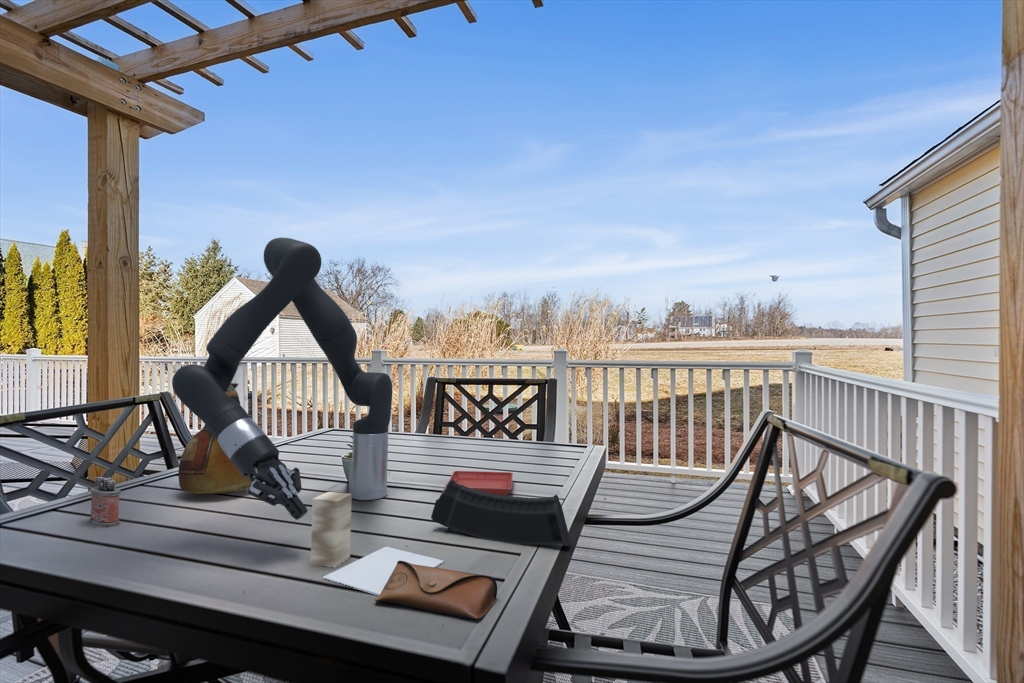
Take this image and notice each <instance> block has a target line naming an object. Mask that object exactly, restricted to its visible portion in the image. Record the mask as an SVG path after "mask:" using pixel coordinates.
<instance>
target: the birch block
mask: <svg viewBox="0 0 1024 683" xmlns="http://www.w3.org/2000/svg"><path fill="white" fill-rule="evenodd" d="M352 499H353V498H352V494H348V493H347V492H346V493H345V492H336V491H335V492H334V491H327V492H323V494H320V495H318V496H316V497H314V498H312V503H311V505H312V506H311V508H312V509H311V536H310V537H311V541H310V542H311V543H310V566H313V565H316V566H315V567H322V566H326V567H325V568H330V567H333V568H332V569H336V568H338V567H339V566H340V565H342V564H343V563H345V562H346V561H347V560H348V558H349V557H350V558H351V534H352V533H351V532H352V530H351V528H352ZM350 558H349V559H350ZM346 559H347V560H346ZM345 560H346V561H345ZM342 562H343V563H342ZM341 563H342V564H341ZM337 566H338V567H337Z"/></svg>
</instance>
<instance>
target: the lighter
mask: <svg viewBox="0 0 1024 683" xmlns="http://www.w3.org/2000/svg"><path fill="white" fill-rule="evenodd" d="M94 483H95V484H97V485H98V486H96V487H91V488H90V493H91V500H90V501H91V505H90V506H91V508H90V517H89V524H90V525H92V526H95V527H99V528H105V529H106V528H110V529H111V528H115V527H117V526H119V525H120V519H119V515H120V514H119V512H120V495H121V489H119V488H116V487H115V486H116V480H114V479H113V478H112V477H111V476H109V477H103V476H96V478H94Z"/></svg>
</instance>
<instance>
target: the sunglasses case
mask: <svg viewBox="0 0 1024 683" xmlns="http://www.w3.org/2000/svg"><path fill="white" fill-rule="evenodd" d="M497 595H498V583H497V580H496V579H495V578H494V577H492V576H490V575H486V574H473V573H467V572H463V571H456V570H452V569H447V568H441V567H436V568H435V567H429V566H422V565H415V564H411V563H408V562H405V561H398V562H397V565H396V567H395V569H394V570H393V572H392V574H391V576H390V577H389V579H388V581H387V583H386V585H385V586H384V588H383V590H382V592H381V594H380V595H379V596H378V595H377V597H375V598H374V601H375V602H378V603H379V602H380V603H381V602H382V603H390V604H396V605H401V606H405V607H409V608H410V607H411V608H415V609H419V610H420V609H421V610H425V611H428V612H433V613H437V614H440V615H446V616H451V617H452V616H453V617H458V618H465V619H473V620H474V619H475V620H480V619H482V618H483V617H484V616H486V615H487V613H488V612H489V611H490V610H491V609H492V607H493V605H495V603H496V600H497Z"/></svg>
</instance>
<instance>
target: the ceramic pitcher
mask: <svg viewBox="0 0 1024 683" xmlns="http://www.w3.org/2000/svg"><path fill="white" fill-rule="evenodd" d="M238 386H239V383H237V382H231V384H230V386H229V388H228V390H227V391H226V394H227V395H228V396H229V397H230V398H232V399H234V400H235V401H237V402H238V403H239V404H240V405H241V401H240V397H239V393H238V391H237V390H236V388H237V387H238ZM177 473H178V476H177V477H178V485H179V488H180V489H181V490H182V491H184V492H186V493H189V494H198V495H215V494H225V493H226V494H227V493H233V492H241V491H244V490H246V491H247V490H248V489H249V488H250V487H251V484H252V482H251V481H250V479H249V477H243V476H242V474H241V473H240V472H239V470H238V469H237V468H236V467H235V465H234V464H233V463H232V461H231V460H230V459H229V458H228V456H227V455H226V454H225V452H224V451H223V450H222V448H221V446H220V444H219V442H218V441H217V440H216V438H215V437H214V436H213V434H212V433H211V432H210V431H209V429H208V428H207V426H206V425H205V424H204V426H203V427H202V428H201V429H200V430H199V431H198V432H196V433H195V434H194V435H193V436H192V437H191V439H189V441H188V443H187V444H186V446H185V448H184V450H183V451H182V453H181V457H180V459H179V465H178V472H177Z"/></svg>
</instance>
